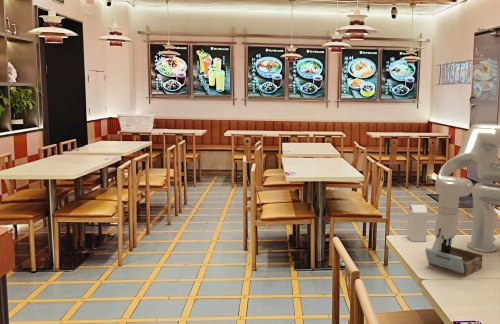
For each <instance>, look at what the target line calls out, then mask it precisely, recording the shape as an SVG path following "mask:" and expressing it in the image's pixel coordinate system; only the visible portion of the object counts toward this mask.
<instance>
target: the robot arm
mask: <svg viewBox="0 0 500 324" xmlns="http://www.w3.org/2000/svg"><path fill="white" fill-rule="evenodd" d="M499 149H500V123H474V124H472V125H470V128H469V129H468V130H467V132H466V133H465V136H464V139H463V141H462V144H461V146H460V148H459V149H458V154H456V155H455V156H453V157H452V158H450V159H448V160H447V161H446V162H445V163H444V164H443V165H442V166H441V167H440V170H439V171H438V174H437V176H436V180H435V183H434V184H435V185H434V187H435V190H436V191H437V192H438V207H437V209H438V210H437V213H438V214H437V216H436V221H435V230H434V237H435V238H436V237H439V240H438V242H441V252H443V253H447V254H450V251H451V247H452V246H451V245H452V242H453V239H454V238H455V236H457V234H458V226H459V225H458V221H459V220H458V216H459V206H460V205H459V204H460V197H461V198H462V197H468V196H469V195H470V194H472V202H473V204H472V208H473V209H472V218H471V219H472V221H471V223H472V224H471V235H470V236H471V238H470V241H469V242H467V244H466V246H467V248H469V249H470V250H472V251H477V252H481V253H493V252H496V251H497V246H496V245H494V242H495V241H496V238H495V225H496V210H495V208H494V206H493V205H495V206H500V184H498V183H491V182H499V183H500V158H499V155H500V150H499ZM475 165H477V166H476V168H477V169H476V172H477V173H476V174H477V177H478V178H479V179H480V180H483V181H490V182H482V181H481V182H476V183H475V184H473V182H472V180H471V179H469V178H466V177H458V176H451V174H452V173H453V172H455V171H458V170H461V169H465V168H468V167H472V166H475Z"/></svg>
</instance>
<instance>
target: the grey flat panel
mask: <svg viewBox="0 0 500 324" xmlns="http://www.w3.org/2000/svg"><path fill="white" fill-rule="evenodd" d="M425 254H426V260H427V263H428V264H429V263H431V264H434V265H438V266H441V267H444V268H448V269H451V270H454V271H458V272H461V273H463V272H464V266H463V260H462V257H458V256H455V255H451V254H447V253H443V252H440V251H437V250H433V249H432V248H429V247H426V248H425Z"/></svg>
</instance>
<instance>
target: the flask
mask: <svg viewBox="0 0 500 324" xmlns="http://www.w3.org/2000/svg"><path fill="white" fill-rule="evenodd" d="M438 240H439V237H435V240H434V241H433V242H434V243H433V245H432V247H431V249H433V250H437V251H438V250H441V242H438Z"/></svg>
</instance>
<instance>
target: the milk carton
mask: <svg viewBox="0 0 500 324" xmlns="http://www.w3.org/2000/svg"><path fill="white" fill-rule="evenodd" d="M407 212H408V213H407V215H408V216H407V230H406V231H407V232H406V233H407V234H406V236H407V239H408V240H410V241H411V242H427V231H428V230H427V228H428V209H427V205H426V202H411V203H410V206H409V207H408V211H407Z"/></svg>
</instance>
